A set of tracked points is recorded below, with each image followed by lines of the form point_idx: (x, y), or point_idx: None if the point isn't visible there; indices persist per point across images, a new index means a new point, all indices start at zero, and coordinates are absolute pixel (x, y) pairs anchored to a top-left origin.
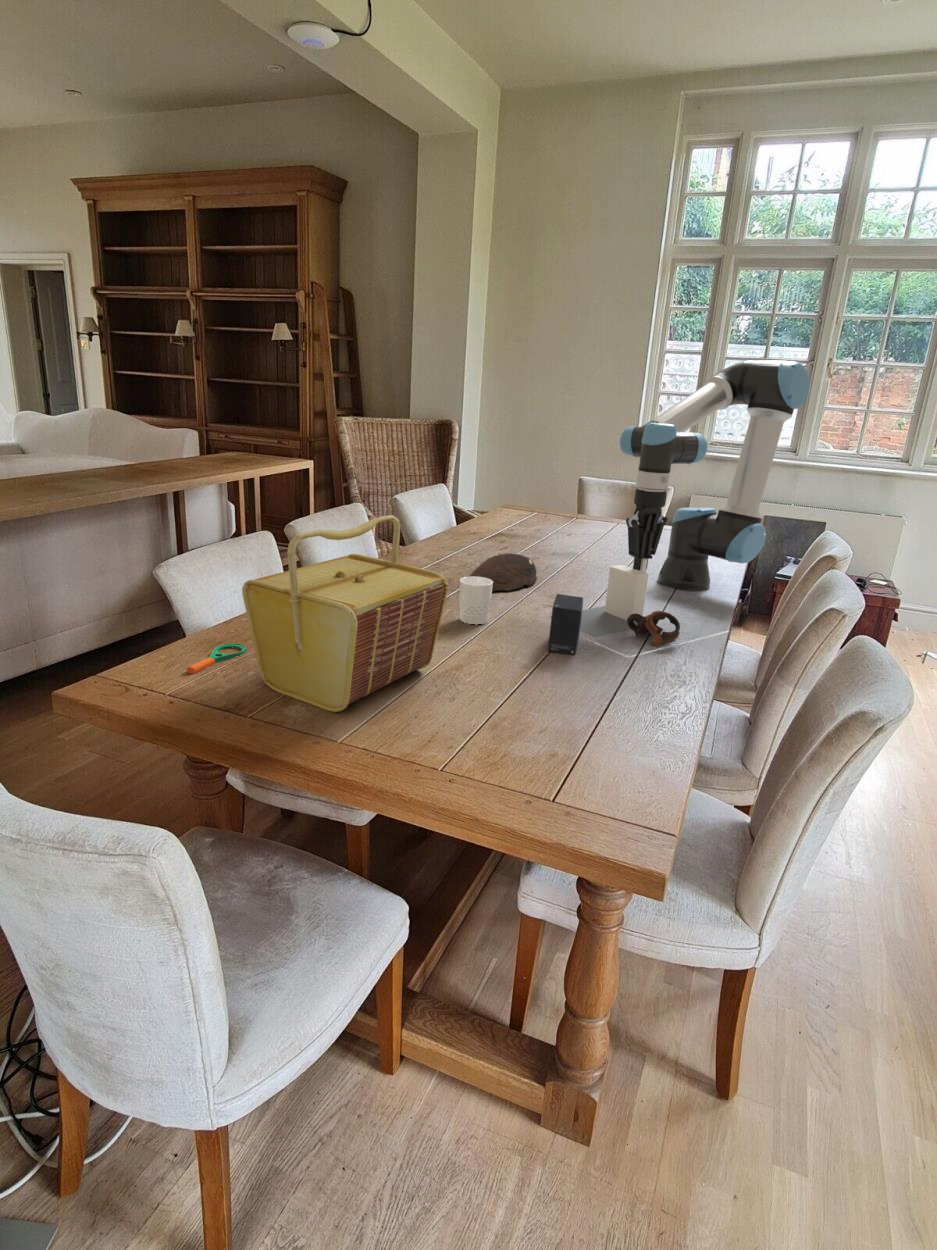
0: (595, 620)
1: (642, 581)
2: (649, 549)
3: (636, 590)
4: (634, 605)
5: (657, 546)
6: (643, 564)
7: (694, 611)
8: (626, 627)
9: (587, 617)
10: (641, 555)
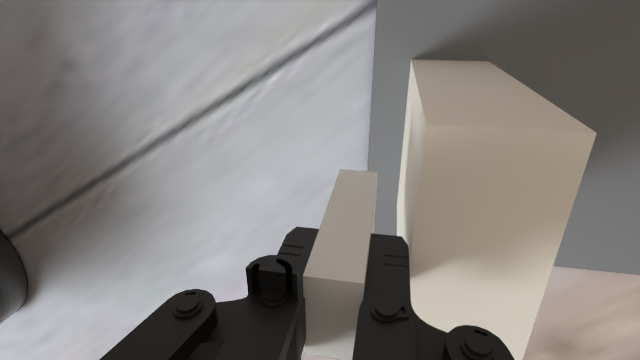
0: (613, 158)
1: (486, 110)
2: (258, 358)
3: (531, 95)
4: (501, 75)
5: (104, 357)
6: (359, 249)
7: (88, 36)
8: (590, 13)
9: (600, 201)
10: (400, 326)
